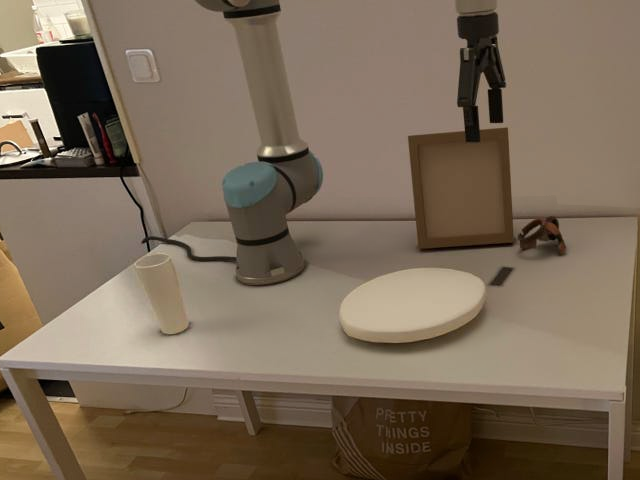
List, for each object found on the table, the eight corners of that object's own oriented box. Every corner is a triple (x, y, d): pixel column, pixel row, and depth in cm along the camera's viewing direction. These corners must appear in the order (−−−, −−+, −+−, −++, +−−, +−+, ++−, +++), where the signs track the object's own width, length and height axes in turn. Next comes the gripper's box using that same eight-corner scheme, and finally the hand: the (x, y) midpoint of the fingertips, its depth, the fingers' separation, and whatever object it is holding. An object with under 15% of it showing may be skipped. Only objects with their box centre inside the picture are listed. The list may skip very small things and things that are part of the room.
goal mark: (490, 284, 146) (490, 283, 146) (503, 268, 152) (503, 266, 152) (500, 285, 146) (500, 284, 145) (512, 268, 152) (512, 267, 152)
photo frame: (514, 246, 162) (508, 134, 149) (418, 252, 164) (404, 143, 151) (512, 222, 174) (507, 117, 161) (424, 228, 176) (411, 125, 163)
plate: (320, 332, 126) (352, 268, 148) (331, 363, 129) (360, 296, 152) (477, 310, 121) (485, 248, 143) (483, 343, 124) (491, 277, 146)
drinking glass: (165, 321, 146) (142, 254, 139) (197, 319, 146) (175, 251, 138) (153, 338, 141) (127, 268, 133) (186, 336, 140) (162, 266, 132)
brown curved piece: (562, 263, 153) (542, 234, 149) (527, 275, 159) (507, 247, 155) (577, 229, 160) (558, 200, 156) (543, 241, 166) (524, 214, 163)
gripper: (472, 22, 118) (481, 150, 130) (517, 2, 138) (522, 115, 149) (430, 25, 121) (443, 150, 132) (481, 4, 140) (488, 115, 152)
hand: (485, 132), depth 141 cm, fingers open, 13 cm apart
